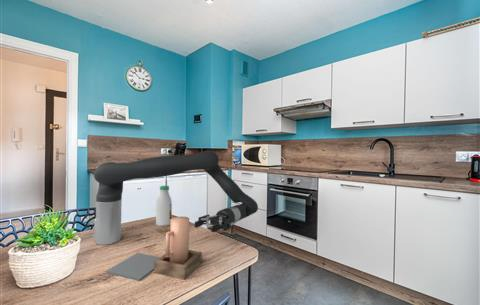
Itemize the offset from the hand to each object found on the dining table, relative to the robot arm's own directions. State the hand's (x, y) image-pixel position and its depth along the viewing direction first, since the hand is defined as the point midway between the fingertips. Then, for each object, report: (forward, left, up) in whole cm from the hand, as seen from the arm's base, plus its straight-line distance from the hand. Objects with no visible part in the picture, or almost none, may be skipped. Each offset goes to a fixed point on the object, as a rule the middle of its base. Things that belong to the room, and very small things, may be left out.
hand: (203, 227), depth 81 cm
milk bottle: (-35, +23, -10) cm, 43 cm away
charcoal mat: (-16, -15, -10) cm, 24 cm away
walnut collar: (-3, -11, -10) cm, 15 cm away
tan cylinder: (-3, -12, -10) cm, 16 cm away
